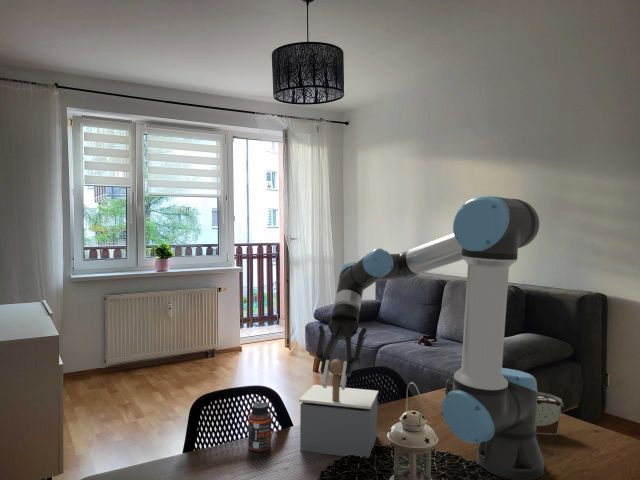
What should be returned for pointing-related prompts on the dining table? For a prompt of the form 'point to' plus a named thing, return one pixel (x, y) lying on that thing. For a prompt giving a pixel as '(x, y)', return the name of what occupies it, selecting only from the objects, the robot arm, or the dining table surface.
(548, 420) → the food container
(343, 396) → the lid
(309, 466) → the dining table surface
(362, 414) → the grey box
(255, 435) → the supplement bottle
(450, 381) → the salt shaker
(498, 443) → the robot arm
